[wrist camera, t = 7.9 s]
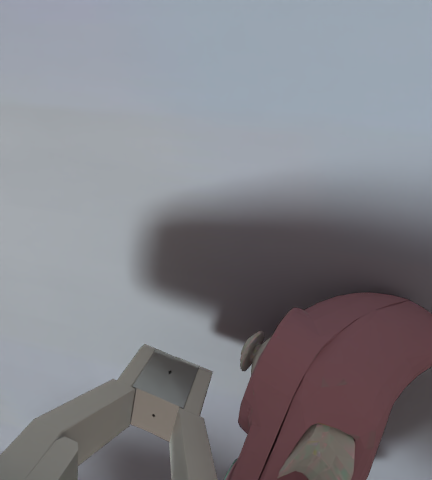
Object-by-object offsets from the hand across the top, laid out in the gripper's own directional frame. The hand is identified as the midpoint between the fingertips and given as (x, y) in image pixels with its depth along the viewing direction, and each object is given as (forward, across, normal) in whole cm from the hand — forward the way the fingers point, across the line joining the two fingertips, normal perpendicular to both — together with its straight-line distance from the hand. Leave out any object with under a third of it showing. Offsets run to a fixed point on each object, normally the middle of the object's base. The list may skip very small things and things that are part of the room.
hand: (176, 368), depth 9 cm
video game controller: (+2, +5, 0) cm, 6 cm away
